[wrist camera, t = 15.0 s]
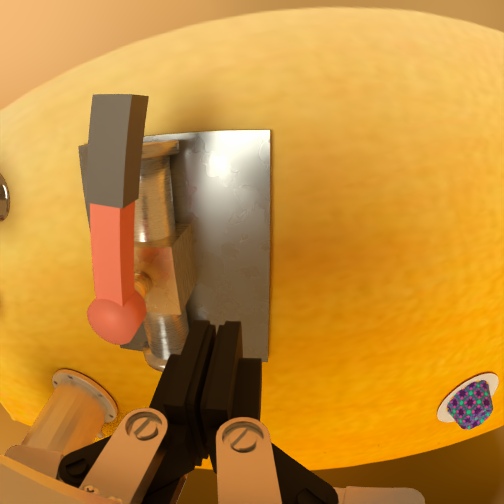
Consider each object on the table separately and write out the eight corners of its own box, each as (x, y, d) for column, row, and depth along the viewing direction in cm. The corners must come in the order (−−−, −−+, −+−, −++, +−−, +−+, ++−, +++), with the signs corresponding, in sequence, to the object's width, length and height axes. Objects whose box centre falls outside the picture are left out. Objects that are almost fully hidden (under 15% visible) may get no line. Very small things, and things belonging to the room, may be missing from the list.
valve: (268, 356, 34) (262, 424, 25) (123, 342, 36) (91, 398, 27) (270, 129, 24) (265, 134, 16) (84, 144, 26) (16, 162, 17)
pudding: (471, 416, 39) (479, 437, 34) (423, 420, 39) (430, 445, 34) (508, 369, 34) (521, 390, 29) (462, 370, 34) (475, 395, 29)
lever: (147, 329, 21) (135, 350, 19) (105, 317, 21) (91, 336, 19) (159, 96, 15) (141, 94, 13) (105, 95, 15) (82, 94, 13)
